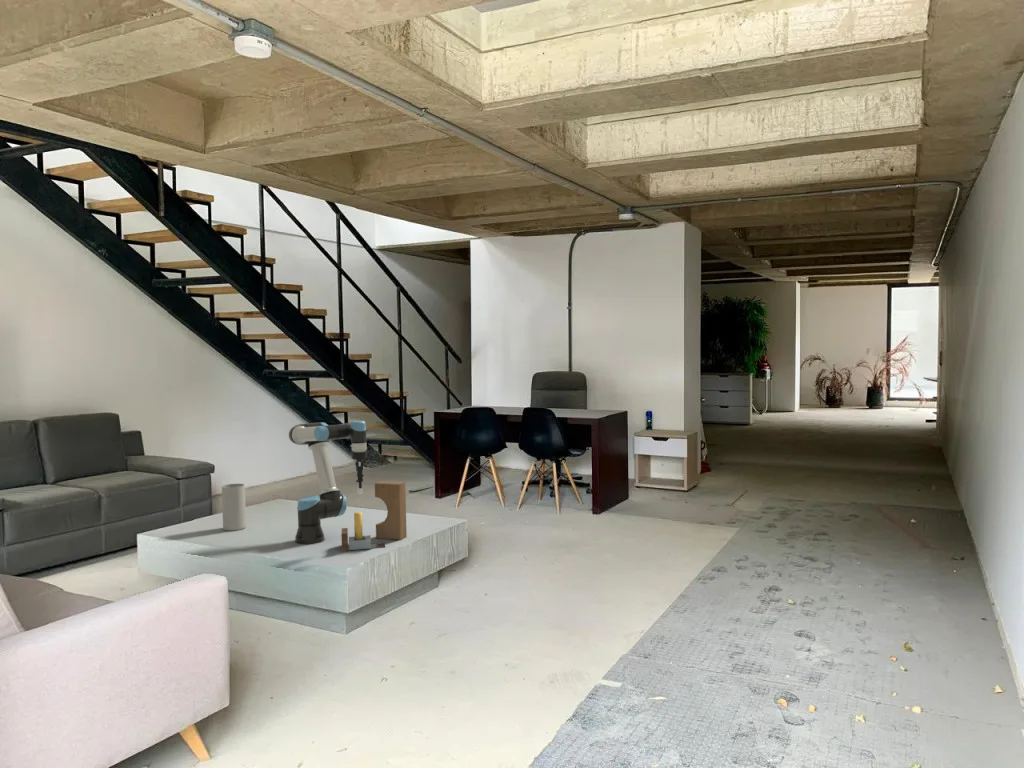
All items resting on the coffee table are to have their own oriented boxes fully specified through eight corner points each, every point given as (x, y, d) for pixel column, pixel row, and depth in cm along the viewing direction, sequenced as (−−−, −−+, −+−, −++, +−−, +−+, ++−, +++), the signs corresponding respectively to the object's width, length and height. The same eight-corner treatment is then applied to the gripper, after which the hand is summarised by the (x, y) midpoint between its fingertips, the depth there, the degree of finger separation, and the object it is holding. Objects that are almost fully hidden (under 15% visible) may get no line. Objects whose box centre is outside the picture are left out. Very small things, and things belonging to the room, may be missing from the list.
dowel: (354, 543, 395) (354, 512, 395) (362, 542, 396) (362, 511, 395) (354, 544, 391) (354, 514, 391) (362, 544, 392) (362, 513, 392)
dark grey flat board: (348, 546, 397) (348, 545, 397) (384, 543, 401) (384, 543, 401) (348, 550, 389) (348, 549, 389) (385, 547, 393) (385, 547, 393)
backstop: (342, 545, 398) (341, 528, 398) (348, 545, 399) (347, 527, 399) (341, 551, 386) (341, 534, 385) (348, 551, 386) (347, 533, 386)
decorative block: (407, 536, 414) (405, 481, 413) (400, 540, 407) (399, 484, 406) (382, 534, 419) (381, 480, 418) (375, 538, 412) (374, 483, 411)
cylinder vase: (250, 527, 443) (249, 484, 441) (232, 532, 432) (230, 488, 431) (237, 525, 450) (235, 482, 448) (218, 529, 439) (216, 486, 438)
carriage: (349, 544, 398) (348, 536, 398) (370, 543, 401) (370, 535, 400) (349, 550, 387) (348, 542, 387) (371, 548, 390) (370, 540, 390)
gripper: (351, 448, 403) (352, 488, 404) (351, 454, 379) (353, 497, 380) (365, 447, 405) (367, 487, 406) (367, 453, 380) (368, 496, 381)
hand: (360, 492), depth 393 cm, fingers open, 13 cm apart
